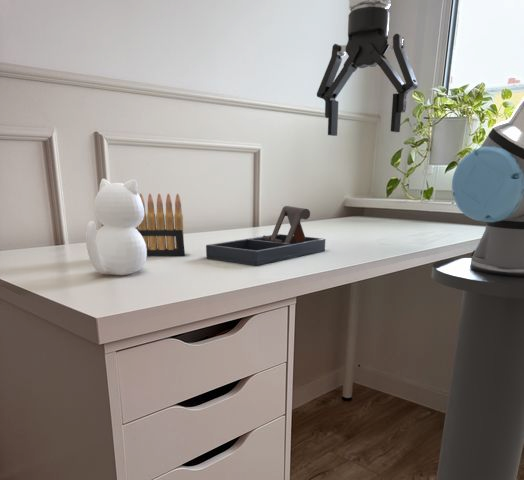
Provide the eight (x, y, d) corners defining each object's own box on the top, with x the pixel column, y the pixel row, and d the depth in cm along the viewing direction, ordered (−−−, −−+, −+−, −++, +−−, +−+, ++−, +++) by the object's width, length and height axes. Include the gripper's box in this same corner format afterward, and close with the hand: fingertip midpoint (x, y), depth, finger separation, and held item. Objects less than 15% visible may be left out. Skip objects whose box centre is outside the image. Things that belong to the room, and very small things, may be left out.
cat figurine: (160, 268, 91) (156, 178, 86) (118, 282, 80) (109, 180, 75) (117, 265, 94) (110, 178, 89) (70, 277, 82) (59, 179, 78)
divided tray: (324, 250, 113) (325, 238, 112) (256, 265, 95) (256, 251, 94) (278, 245, 120) (278, 233, 119) (206, 258, 102) (205, 244, 101)
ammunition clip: (130, 256, 103) (126, 193, 99) (131, 254, 105) (127, 193, 101) (184, 255, 104) (182, 193, 100) (184, 254, 106) (182, 193, 102)
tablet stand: (261, 245, 114) (262, 206, 111) (293, 243, 117) (294, 205, 114) (280, 251, 106) (281, 209, 103) (313, 249, 109) (315, 208, 106)
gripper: (301, 18, 101) (299, 135, 107) (428, -9, 87) (417, 128, 93) (320, 26, 106) (317, 137, 113) (442, 3, 93) (430, 131, 99)
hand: (362, 133), depth 103 cm, fingers open, 13 cm apart
